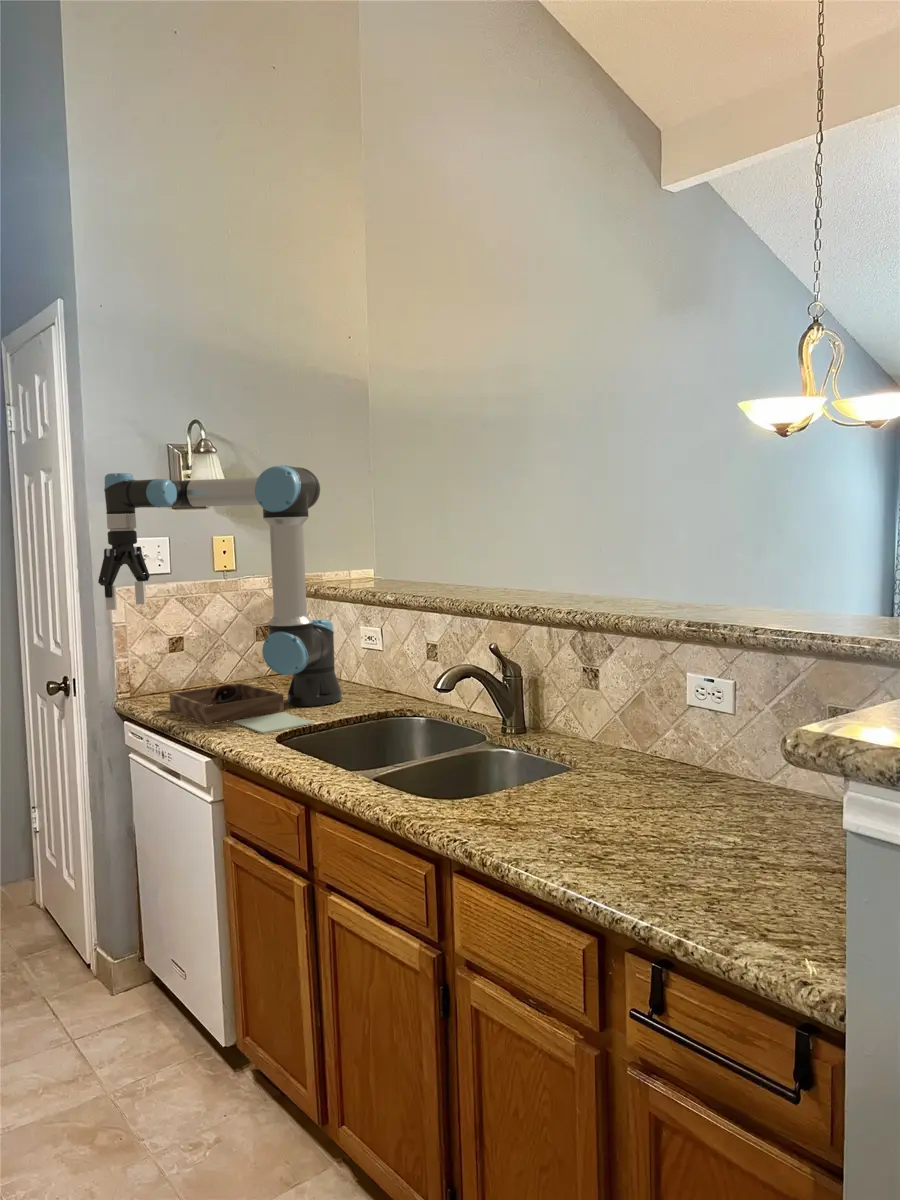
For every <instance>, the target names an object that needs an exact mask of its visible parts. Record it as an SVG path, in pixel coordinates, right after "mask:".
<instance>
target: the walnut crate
mask: <svg viewBox="0 0 900 1200" xmlns="http://www.w3.org/2000/svg"><path fill="white" fill-rule="evenodd" d="M231 684H232V685H235V686H237V687H238V689H239V690H240V691H241V692H242V693H243V694H244V696H243V697H241V699H244V700H241V701H235V702H229V703H223V704H217V705H213V704H211V703H212V702H211V700H212V697H211V690H212V689H213V688H214V687H215V686H211V687H210V686H209V687H205V688H199V689H197V688H196V689H192V690H184V691H179V692H178V691H177V692H172V693H170V692H169V707H170V708H169V709H171V710H170V711H172V710H173V711H172V712H175V711H176V712H175V713H177V712H178V714H179V713H181V714H180V715H182V714H183V715H182V716H184V715H185V717H187V716H188V717H187V718H189V717H191V718H190V719H192V718H193V719H192V720H194V719H196V720H195V721H197V720H198V721H197V722H199V721H201V722H200V723H202V722H203V723H202V724H204V723H206V724H205V725H207V724H209V725H211V724H210V723H215V722H220V723H223V722H222V721H226V722H228V721H227V720H232V721H235V720H234V719H237V720H241V719H240V718H243V719H247V718H246V717H248V718H253V717H252V716H254V717H258V716H257V715H260V716H263V715H262V714H265V715H270V714H269V713H271V714H275V713H274V712H277V713H280V712H279V711H282V712H284V711H285V706H284V704H285V703H284V694H282V693H279V692H276V691H272V690H269V689H265V688H262V687H259V686H254V685H252V684H249V683H246V682H238V683H237V682H236V683H231ZM219 686H220V685H217V686H216V687H219ZM224 693H227V691H225V692H224ZM215 702H216V701H215ZM205 704H209V705H205ZM215 724H216V723H215Z"/></svg>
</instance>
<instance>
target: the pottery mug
mask: <svg viewBox="0 0 900 1200" xmlns="http://www.w3.org/2000/svg"><path fill="white" fill-rule="evenodd" d="M232 684H233V683H230V684H229V683H227V684H221V685H218V686H219V687H217V686H213V687H214V688H213V689H212V690H211V697H212V700H211V702H212V704H211V705H217V704H223V703H229V702H235V701H241V700H242V699H241V697H243V696H244V694H243V693H242V692H241V691H240V690H239V689H238V687H237V686H235V685H232ZM225 691H227V693H224V692H225ZM215 701H216V702H215Z"/></svg>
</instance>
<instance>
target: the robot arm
mask: <svg viewBox="0 0 900 1200" xmlns="http://www.w3.org/2000/svg"><path fill="white" fill-rule="evenodd" d="M103 490H104V498H105V509H106V525H107V527H106V528H107V529H108V530H109V531H107V543H108V545H110V546H111V548H104V550H103V559H102V563H101V568H100V573H99V576H98V581H97V582H98V584H99V585H100V586H103V588H104V597H105V607H106V611H107V610H108V611H112V610H113V611H116V610H118V607H117V603H118V602H117V593H116V592H117V588H116V585H114V583H115V582H116V581H115V580H116V579H117V576H118V574H119V572H120V570H121V567H122V566H123V565H127V567H128V569H130V572H131V573H132V575H133V577H134V578H135V581H134V595H135V604H136V605H146V604H147V600H146V598H147V596H146V582H148V581H149V579H150V577H151V575H150V573H149V570H148V566H147V564H146V562H145V558H144V557H143V553H142V547H141V546H134V545H136V544H137V543H138V535H137V531H136V530H135V529H137V516H136V509H138V508H139V509H140V508H141V509H142V508H183V509H185V508H186V509H187V508H193V507H194V508H195V507H196V508H197V507H225V506H226V507H227V506H229V507H230V506H258V505H259V506H260V507H261V508H262V516H263V517H262V519H263V520H264V521H265V522H266V524H268V525H269V539H270V540H269V541H270V558H271V559H270V560H271V583H272V602H273V603H272V605H273V607H272V609H273V618H271V620H269V622H268V624H267V625H268V635H267V638H266V639H265V641H264V642H263V645H262V648H261V649H262V651H261V652H262V653H261V654H262V656H263V657H262V658H263V660H264V662H265V664H266V665H267V667H268V668H270V669H271V670H272V672H274V673H276V674H279V675H283V676H288V675H289V676H290V675H292V677H291V681H290V683H289V688H288V692H287V703H288V705H289V704H290V705H292V706H297V707H316V706H315V705H320V706H324V705H323V704H328V705H331V704H330V703H333V704H335V703H334V702H337V701H339V700H341V699H342V700H343V691H342V689H341V685H340V683H339V680H338V678H337V675H336V671H335V669H336V668H335V644H334V643H335V642H334V640H335V639H334V634H335V631H334V626H333V625H334V624H333V622H332V621H331V620H329V619H311V618H310V617H309V616H308V614H307V612H308V610H307V592H306V589H307V588H306V587H307V585H306V565H305V563H306V562H305V542H304V541H305V539H304V524H305V522H306V521H307V520H308V519H309V509H310V508H312V507H313V506H314V505H316V503H318V502H317V501H318V500H319V497H320V494H321V484H320V482H319V479H318V477H317V476H316V475H315V474H314V473H313V472H312V471H311V470H309V469H307V468H304V467H300V466H299V467H297V466H290V465H283V464H281V465H274V466H271V467H268V468H266V469H265V470H263V471H262V472H261V474H260V475H259V476H258V477H238V478H237V477H235V478H234V477H233V478H215V479H192V480H190V479H188V480H171V479H168V478H153V479H152V478H151V479H139V480H137V479H135V478H134V475H133V474H132V473H128V472H121V473H120V472H119V473H118V472H117V473H116V472H115V473H113V472H112V473H107V474H106V475H104V489H103ZM342 700H341V701H342ZM339 702H340V701H339ZM337 703H338V702H337Z"/></svg>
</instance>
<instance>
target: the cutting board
mask: <svg viewBox="0 0 900 1200" xmlns="http://www.w3.org/2000/svg"><path fill="white" fill-rule="evenodd" d="M235 723H237V724H236V725H238V724H239V725H238V726H240V725H242V726H241V727H243V726H245V727H244V728H246V727H247V728H246V729H248V728H250V729H249V730H251V729H252V730H251V731H253V730H255V731H254V732H256V731H258V732H257V733H259V732H260V733H259V734H261V733H266V734H270V733H275V732H280V731H285V730H284V729H287V730H290V729H289V728H292V729H294V728H293V727H297V728H299V727H298V726H301V725H305V724H311V723H314V721H311V720H307V719H305V718H301V717H298V716H296V715H294V714H289V713H286V712H284V711H282V712H277V713H271V714H265V715H260V716H254V717H248V718H243V719H237V720H233V724H235ZM314 724H315V723H314ZM269 732H270V733H269Z"/></svg>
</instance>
